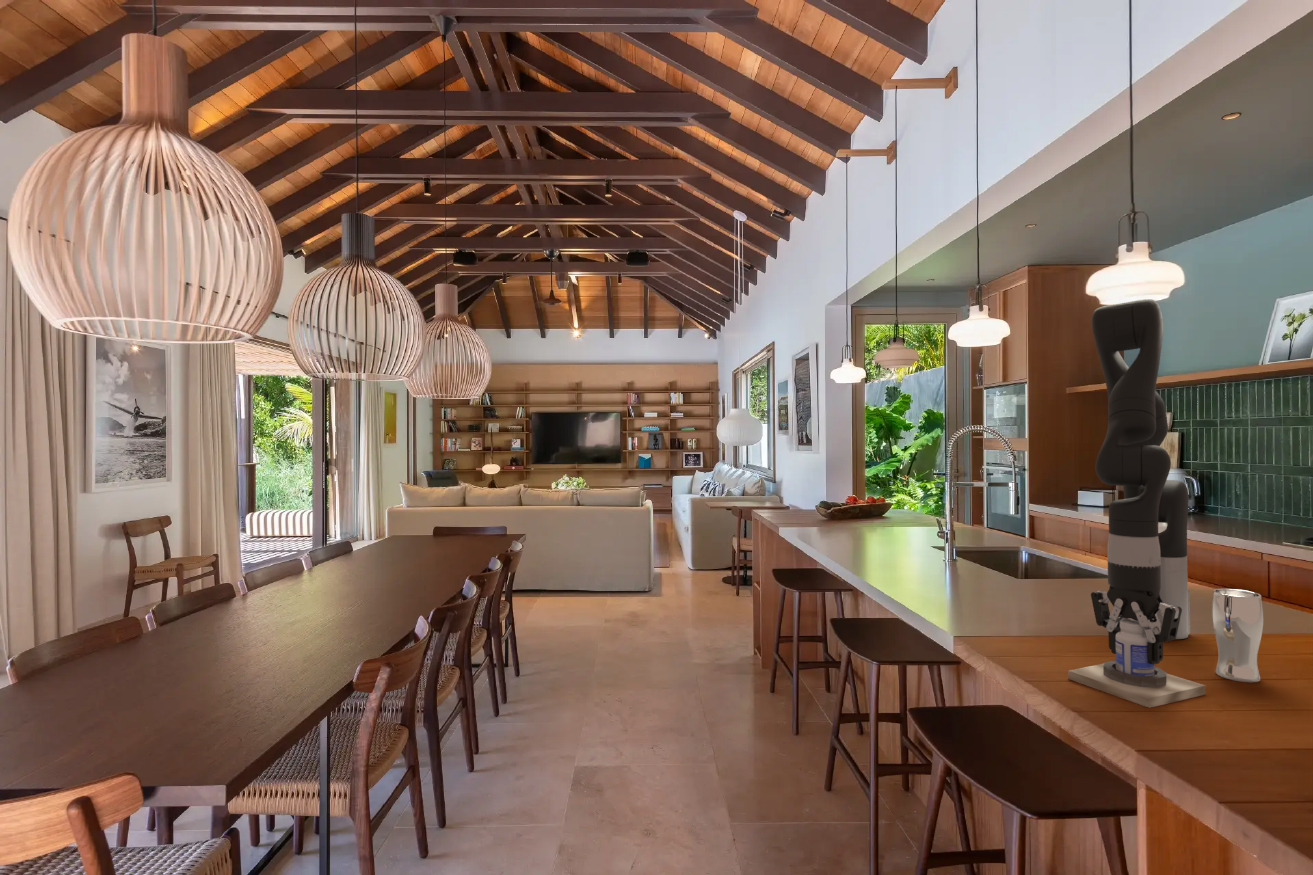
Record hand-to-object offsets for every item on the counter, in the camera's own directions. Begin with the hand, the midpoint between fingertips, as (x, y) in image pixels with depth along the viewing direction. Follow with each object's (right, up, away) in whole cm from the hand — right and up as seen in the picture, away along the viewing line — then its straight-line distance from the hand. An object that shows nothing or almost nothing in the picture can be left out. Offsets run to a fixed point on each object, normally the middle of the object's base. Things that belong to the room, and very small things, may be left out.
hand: (1134, 657), depth 118 cm
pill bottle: (0, -4, 0) cm, 4 cm away
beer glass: (+21, -5, +4) cm, 22 cm away
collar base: (0, -5, 0) cm, 5 cm away
